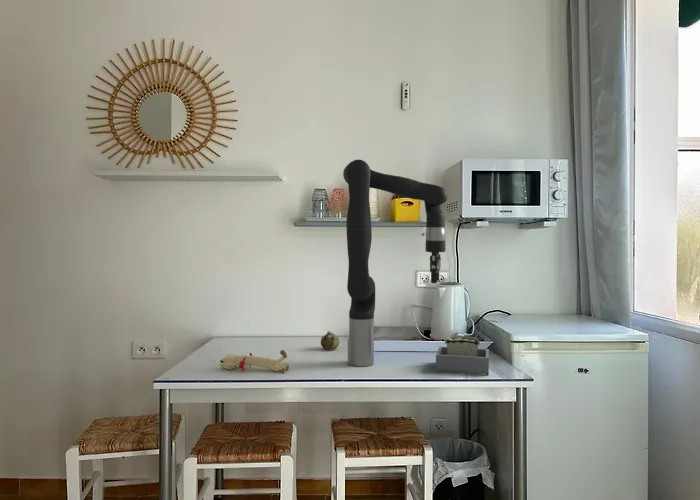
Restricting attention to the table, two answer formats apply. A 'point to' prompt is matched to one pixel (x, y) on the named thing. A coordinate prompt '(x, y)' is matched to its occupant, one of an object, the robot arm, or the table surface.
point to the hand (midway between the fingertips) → (435, 282)
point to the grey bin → (462, 362)
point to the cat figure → (254, 362)
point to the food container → (462, 346)
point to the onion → (329, 341)
